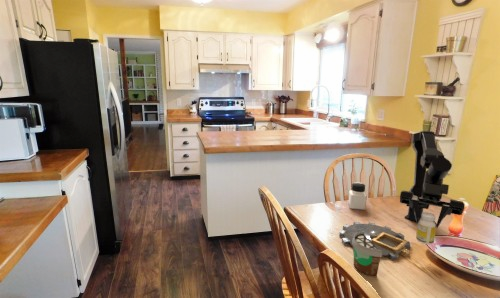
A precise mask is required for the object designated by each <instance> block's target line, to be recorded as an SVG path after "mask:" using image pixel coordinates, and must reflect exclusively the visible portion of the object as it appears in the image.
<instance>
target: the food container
mask: <svg viewBox="0 0 500 298" xmlns="http://www.w3.org/2000/svg"><path fill="white" fill-rule="evenodd" d="M352 245H353V246H354V251H353V267H354V269H355V270H356V271H357V272H359V273H360V274H362V275H365V276H368V277H374V278H375V277H378V272H379V268H380V267H379V266H380V262H381V258H383V257H382V250H378V249H377V248H376V247H375V245H374V244H373V243H372V241H370V240H369V239H368V238H367V237H366V236H365V235H364V232H359V233H356V234H355V236H354V237H353V240H352Z"/></svg>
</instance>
